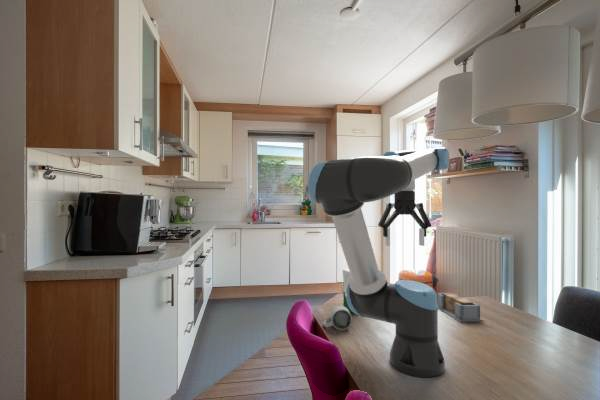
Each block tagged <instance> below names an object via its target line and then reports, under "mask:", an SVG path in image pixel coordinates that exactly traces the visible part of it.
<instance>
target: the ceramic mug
mask: <svg viewBox="0 0 600 400" xmlns="http://www.w3.org/2000/svg"><path fill="white" fill-rule="evenodd" d="M352 323H353V318H352V314H350V312H349V310H348V309H347V308H346V307H344V306H343V305H336V306H335V307H334V308H333V309H332V311H331V316H330V317H328V318H326V319H325V320H324V321H323V323H322V324H323V325H324V327H325V328H329V327H332V326H333V327H334V328H335V329H336V330H338V331H346V330H348V329H349V328H350V327H351V325H352Z"/></svg>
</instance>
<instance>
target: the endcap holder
mask: <svg viewBox="0 0 600 400" xmlns="http://www.w3.org/2000/svg"><path fill="white" fill-rule="evenodd" d="M444 293H445V292H436V294H437V303H438V309H439V310H440V311H442V312H443V313H445V314H446V315H448V316H449V317H452V318H453V319H455V320H456V321H457V322H459V323H461V322H462V323H463V322H464V323H465V322H469V323H470V322H484V319H483V318H481V305H479V304H478V303H476V302H473V301H472V302H473V305H460V304H458V303H455V313H454V312H452V311H450V310H448V309H446V308H444V296H443V294H444ZM451 293H452V294H454V295H456V296H459V297H460V295H459V294H457V293H455V292H451Z"/></svg>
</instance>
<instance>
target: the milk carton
mask: <svg viewBox="0 0 600 400" xmlns="http://www.w3.org/2000/svg"><path fill="white" fill-rule="evenodd" d="M351 278H352V277H351V274H350V270H349V268H342V281H343V283H342V284H343V292H342V293H343V295H342V296H343V305H342V306H344V307H346V308H347V309H348V310H349V312H350V314H351V315H352V314H355V313H353V312H352V311H351V310H350V308H349V306H348V304H347V300H346V296H347V293H346V290H347V286H348V284H349V282H350V279H351Z"/></svg>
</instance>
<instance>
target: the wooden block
mask: <svg viewBox="0 0 600 400" xmlns="http://www.w3.org/2000/svg"><path fill="white" fill-rule="evenodd" d="M443 293H444V294H443V296H444V308H446V309H448V310H450V311H452V312H454V313H455V303H458V304H460V305H473V301H470V300H468V299H466V298H464V297H461V296H460V295H459V296H456V295H454V294H452V293H453V292H443Z"/></svg>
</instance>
